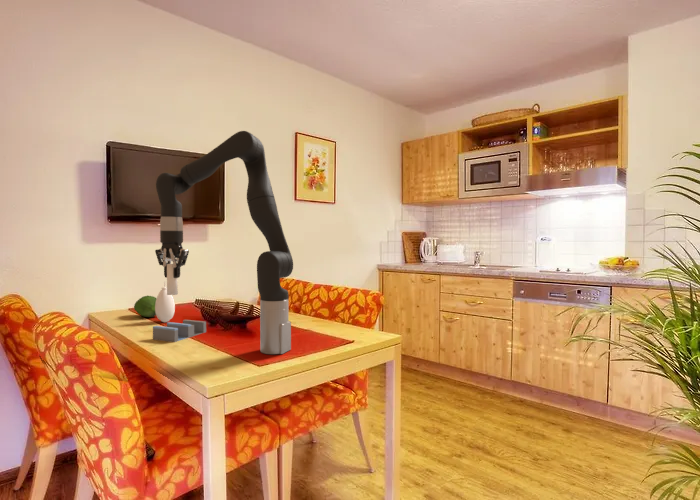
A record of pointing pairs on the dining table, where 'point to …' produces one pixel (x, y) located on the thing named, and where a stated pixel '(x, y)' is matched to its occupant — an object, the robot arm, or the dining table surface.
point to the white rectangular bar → (171, 281)
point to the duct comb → (179, 330)
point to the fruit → (146, 306)
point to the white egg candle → (164, 305)
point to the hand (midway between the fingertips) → (172, 277)
